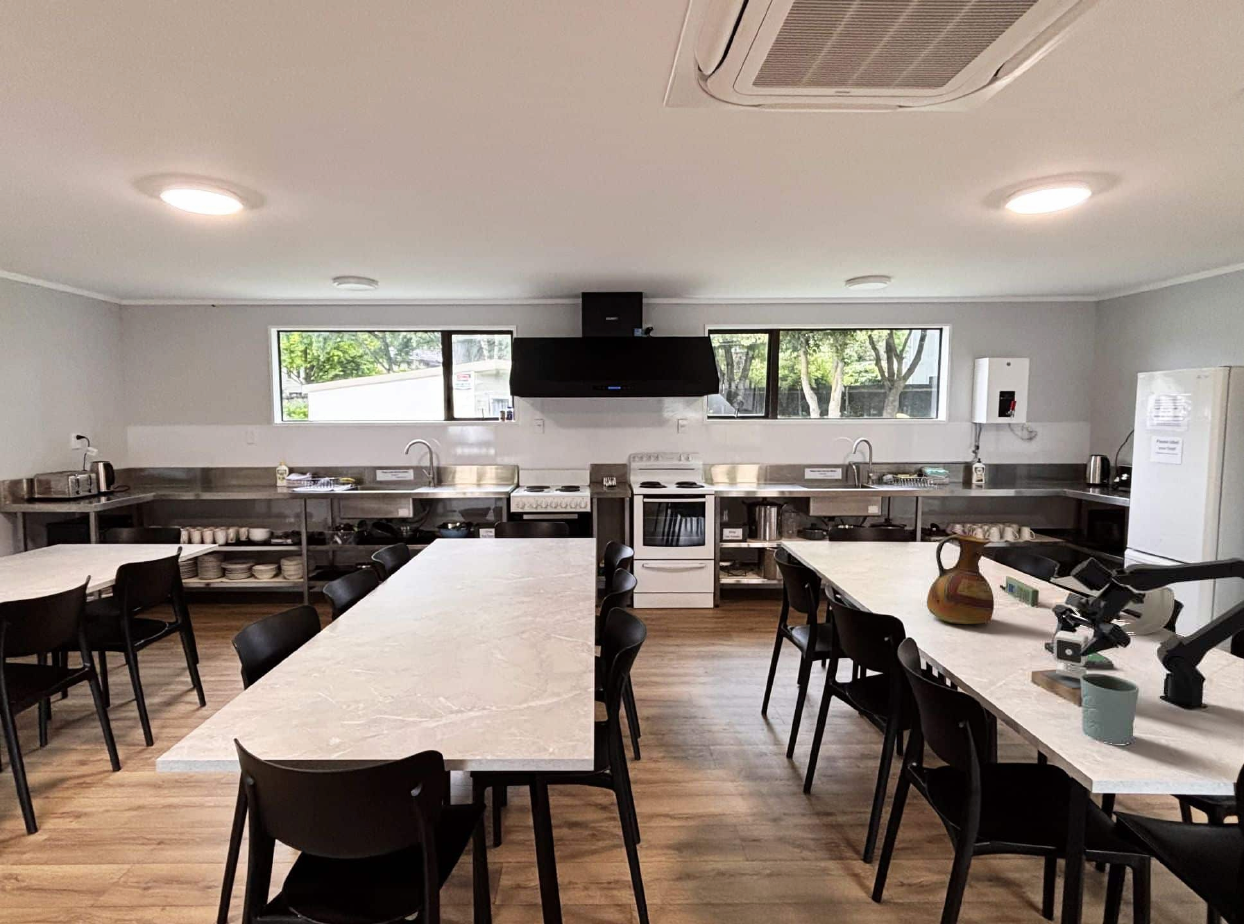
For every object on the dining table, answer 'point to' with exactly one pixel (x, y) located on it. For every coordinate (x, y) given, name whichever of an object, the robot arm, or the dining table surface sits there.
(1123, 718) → the green plant pot
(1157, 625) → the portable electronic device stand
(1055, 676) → the walnut stand
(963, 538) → the ceramic pitcher
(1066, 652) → the security camera
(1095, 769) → the dining table surface
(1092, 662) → the disk drive
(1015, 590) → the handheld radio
